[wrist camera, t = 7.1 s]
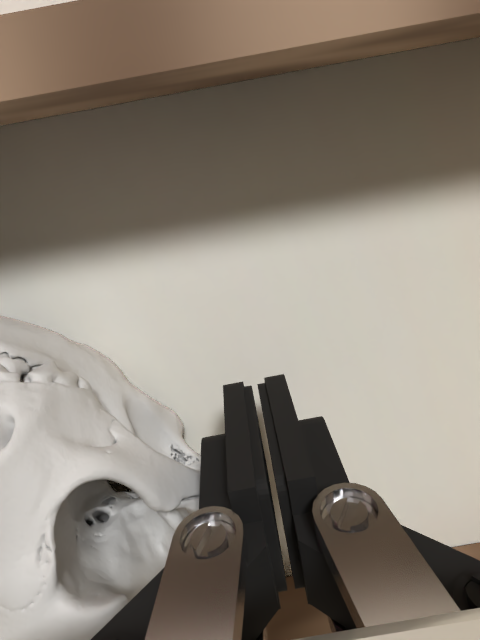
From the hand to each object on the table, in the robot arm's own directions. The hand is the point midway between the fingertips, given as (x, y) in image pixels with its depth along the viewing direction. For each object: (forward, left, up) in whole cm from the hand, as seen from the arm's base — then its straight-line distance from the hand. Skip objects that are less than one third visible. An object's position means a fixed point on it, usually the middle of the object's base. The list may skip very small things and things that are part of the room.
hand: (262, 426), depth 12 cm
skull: (+5, 0, -2) cm, 6 cm away
